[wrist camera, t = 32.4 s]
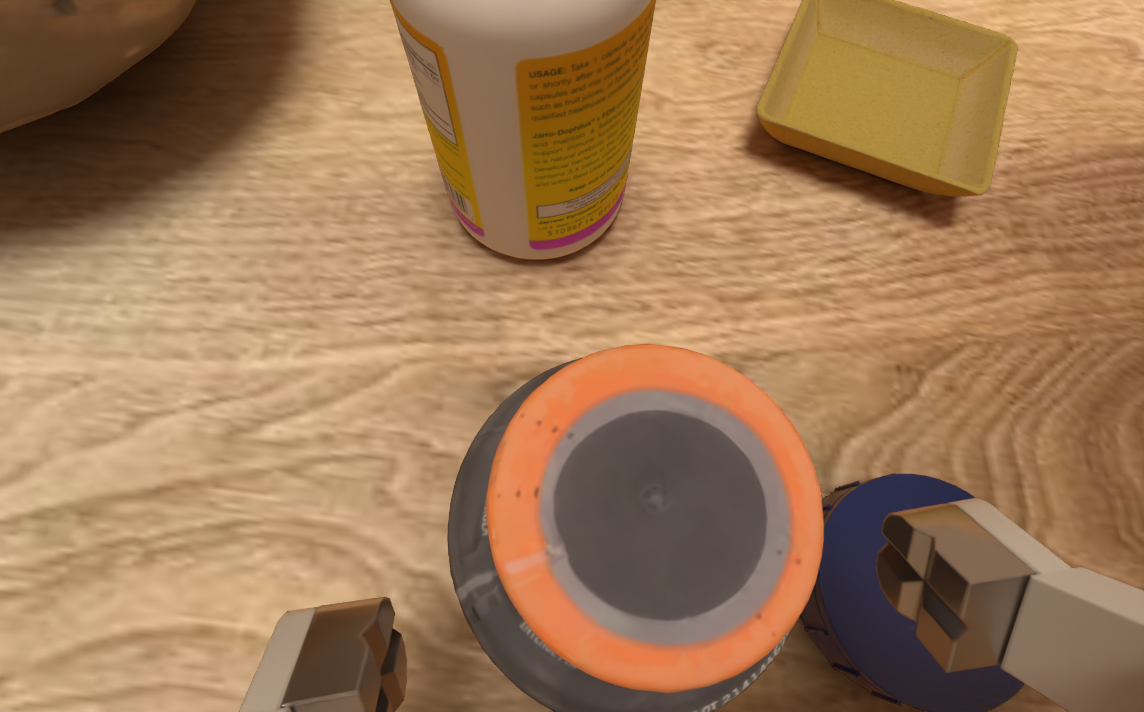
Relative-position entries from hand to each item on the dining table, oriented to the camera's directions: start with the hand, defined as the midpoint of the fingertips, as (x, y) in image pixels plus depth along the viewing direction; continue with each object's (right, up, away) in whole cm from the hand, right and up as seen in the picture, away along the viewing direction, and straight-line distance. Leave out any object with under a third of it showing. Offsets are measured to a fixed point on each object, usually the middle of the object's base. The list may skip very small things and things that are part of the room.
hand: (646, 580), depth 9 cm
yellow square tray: (+11, +14, +14) cm, 23 cm away
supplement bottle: (-3, +10, +13) cm, 16 cm away
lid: (+8, -3, +6) cm, 11 cm away
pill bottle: (0, -2, +8) cm, 8 cm away
